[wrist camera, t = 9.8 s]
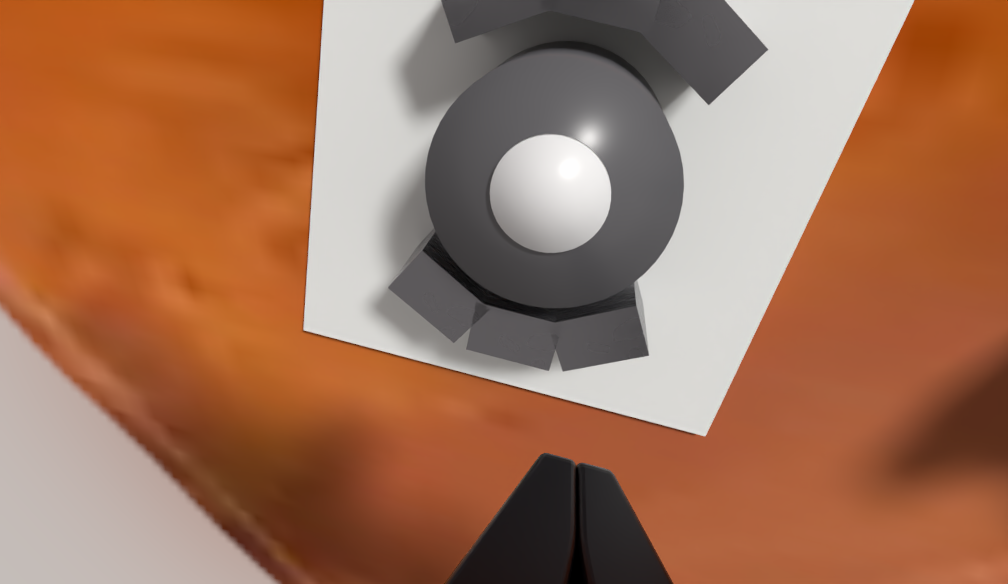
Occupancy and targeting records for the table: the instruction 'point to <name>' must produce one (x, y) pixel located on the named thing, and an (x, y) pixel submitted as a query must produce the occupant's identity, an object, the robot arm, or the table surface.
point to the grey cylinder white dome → (555, 177)
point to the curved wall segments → (620, 318)
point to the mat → (706, 198)
